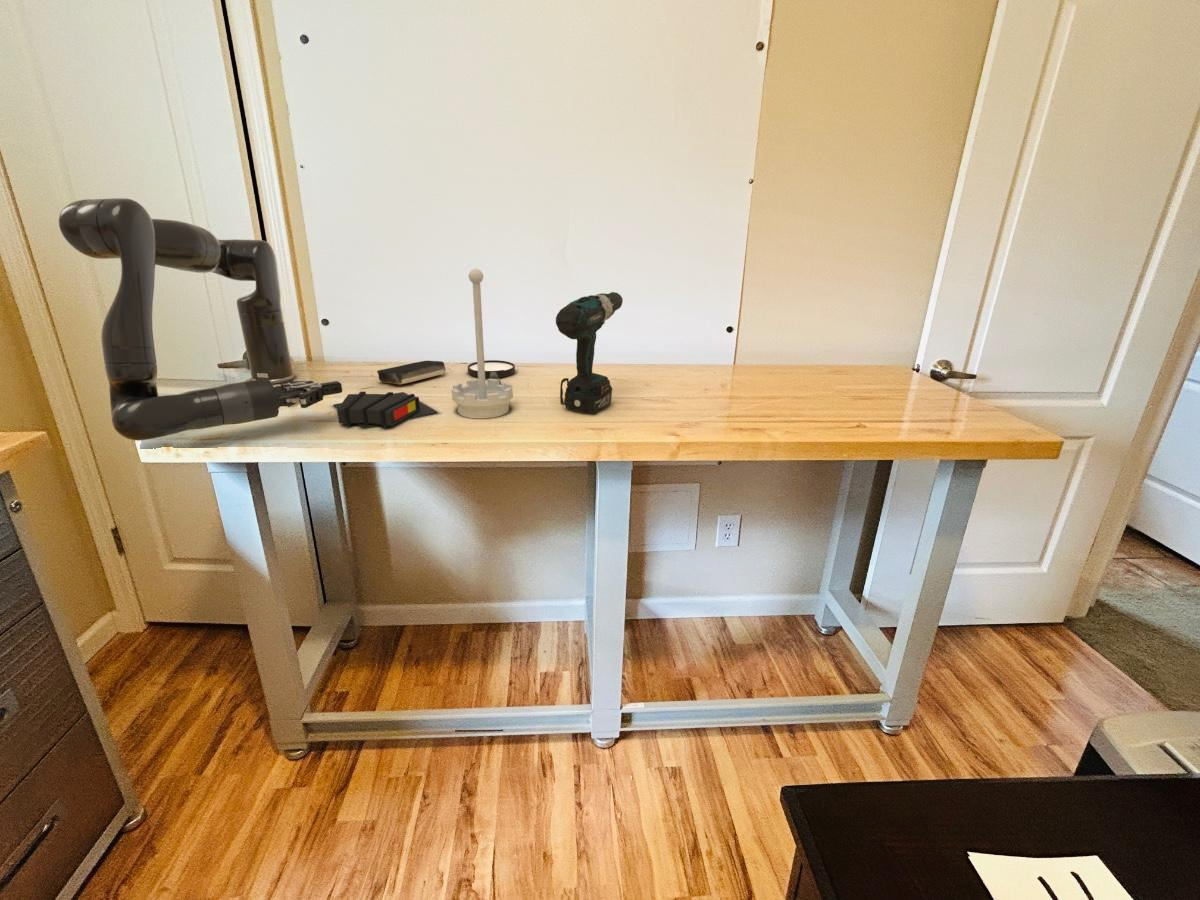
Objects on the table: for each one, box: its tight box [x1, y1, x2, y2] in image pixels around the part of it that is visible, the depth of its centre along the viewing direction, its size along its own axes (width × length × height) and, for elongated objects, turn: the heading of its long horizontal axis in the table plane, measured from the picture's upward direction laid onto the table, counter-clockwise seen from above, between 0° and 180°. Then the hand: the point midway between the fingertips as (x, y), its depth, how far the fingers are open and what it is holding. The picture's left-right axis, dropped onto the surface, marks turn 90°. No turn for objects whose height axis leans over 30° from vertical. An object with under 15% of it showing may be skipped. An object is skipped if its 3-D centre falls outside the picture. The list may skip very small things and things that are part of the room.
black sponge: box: [376, 360, 446, 385], centre depth 154 cm, size 16×8×4 cm, turn 144°
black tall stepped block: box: [336, 391, 420, 428], centre depth 126 cm, size 4×13×15 cm
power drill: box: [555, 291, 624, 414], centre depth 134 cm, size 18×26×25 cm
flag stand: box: [451, 268, 514, 419], centre depth 127 cm, size 13×13×30 cm
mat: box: [333, 391, 438, 429], centre depth 132 cm, size 18×16×1 cm
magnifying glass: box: [467, 359, 516, 385], centre depth 157 cm, size 12×24×2 cm, turn 14°
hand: (340, 386), depth 123 cm, fingers closed
